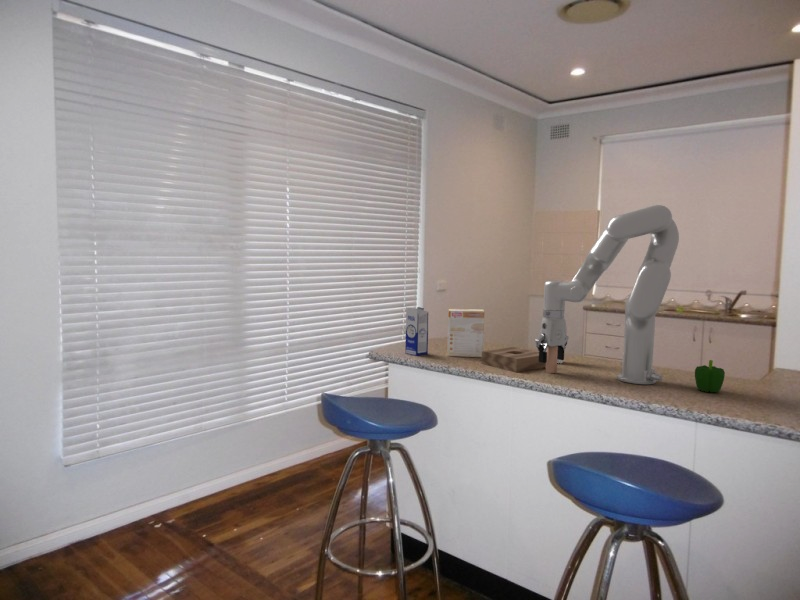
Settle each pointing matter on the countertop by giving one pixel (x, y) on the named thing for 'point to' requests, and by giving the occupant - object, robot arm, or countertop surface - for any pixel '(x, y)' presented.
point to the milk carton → (416, 331)
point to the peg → (551, 359)
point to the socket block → (512, 359)
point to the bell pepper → (709, 378)
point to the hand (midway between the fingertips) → (551, 360)
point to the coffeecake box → (465, 332)
